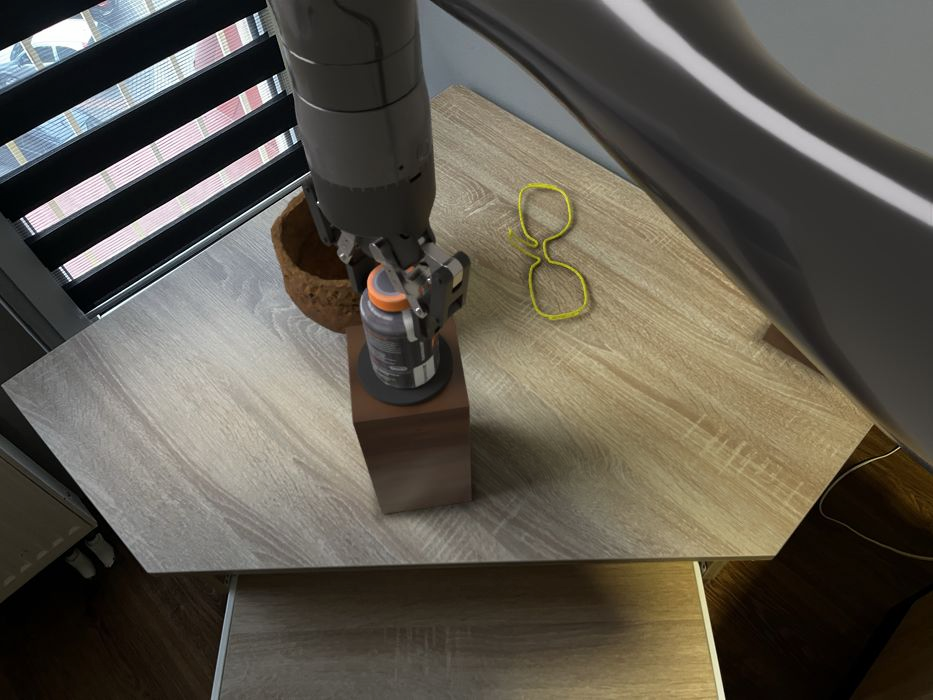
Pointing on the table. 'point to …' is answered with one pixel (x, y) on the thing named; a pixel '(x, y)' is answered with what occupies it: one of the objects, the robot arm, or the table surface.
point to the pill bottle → (395, 334)
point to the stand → (414, 437)
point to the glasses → (546, 253)
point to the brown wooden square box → (787, 346)
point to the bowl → (314, 270)
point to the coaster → (405, 395)
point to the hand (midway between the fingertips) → (396, 309)
